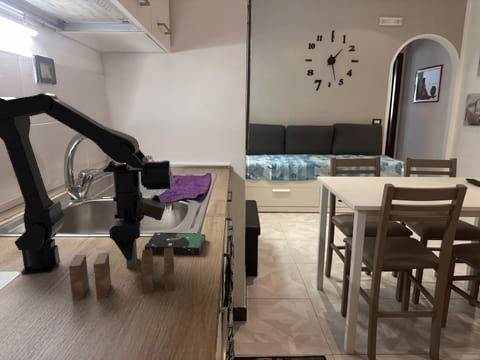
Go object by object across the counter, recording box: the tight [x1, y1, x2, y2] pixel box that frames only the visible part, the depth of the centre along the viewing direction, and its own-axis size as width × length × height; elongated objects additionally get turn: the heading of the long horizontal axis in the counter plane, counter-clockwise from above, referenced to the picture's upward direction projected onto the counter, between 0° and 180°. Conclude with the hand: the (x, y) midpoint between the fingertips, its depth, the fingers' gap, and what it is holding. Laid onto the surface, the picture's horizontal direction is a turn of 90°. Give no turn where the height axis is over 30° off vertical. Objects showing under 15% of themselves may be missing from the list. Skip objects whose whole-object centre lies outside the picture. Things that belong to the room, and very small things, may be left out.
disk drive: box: [144, 231, 206, 256], centre depth 92 cm, size 10×3×15 cm
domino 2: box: [93, 252, 112, 299], centre depth 69 cm, size 2×5×8 cm, turn 12°
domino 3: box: [125, 239, 138, 269], centre depth 82 cm, size 2×5×8 cm, turn 12°
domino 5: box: [163, 248, 176, 292], centre depth 72 cm, size 2×5×8 cm, turn 12°
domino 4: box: [140, 249, 155, 294], centre depth 71 cm, size 2×5×8 cm, turn 12°
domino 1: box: [68, 253, 90, 302], centre depth 68 cm, size 2×5×8 cm, turn 12°
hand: (131, 251), depth 82 cm, fingers open, 9 cm apart
